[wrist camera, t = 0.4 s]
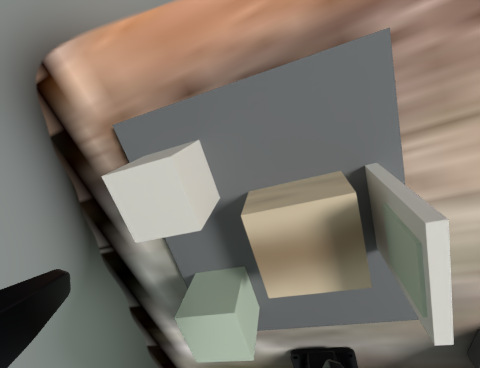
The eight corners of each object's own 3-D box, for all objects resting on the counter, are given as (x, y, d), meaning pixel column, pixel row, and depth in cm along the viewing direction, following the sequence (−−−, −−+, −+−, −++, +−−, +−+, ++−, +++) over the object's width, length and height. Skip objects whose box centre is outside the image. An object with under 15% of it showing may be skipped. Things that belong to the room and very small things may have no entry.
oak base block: (355, 250, 20) (372, 287, 16) (271, 262, 21) (268, 298, 18) (340, 170, 18) (356, 192, 14) (248, 191, 19) (240, 215, 16)
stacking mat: (413, 309, 22) (491, 443, 14) (211, 325, 27) (180, 429, 19) (383, 31, 15) (505, -40, 7) (120, 123, 20) (6, 147, 12)
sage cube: (259, 307, 24) (253, 360, 19) (212, 311, 25) (196, 362, 20) (244, 266, 22) (234, 312, 17) (195, 273, 23) (174, 318, 19)
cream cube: (220, 197, 20) (201, 230, 15) (167, 209, 21) (135, 242, 17) (199, 139, 18) (170, 156, 14) (143, 156, 20) (101, 176, 15)
